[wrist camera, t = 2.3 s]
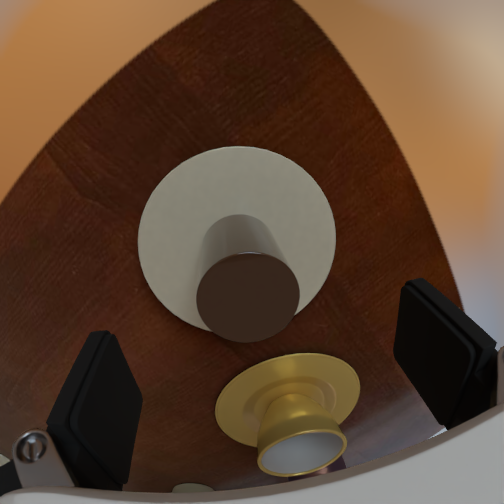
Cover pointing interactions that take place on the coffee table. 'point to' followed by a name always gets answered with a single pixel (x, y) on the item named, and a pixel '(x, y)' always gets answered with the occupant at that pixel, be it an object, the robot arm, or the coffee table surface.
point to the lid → (237, 241)
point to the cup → (290, 411)
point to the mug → (191, 488)
